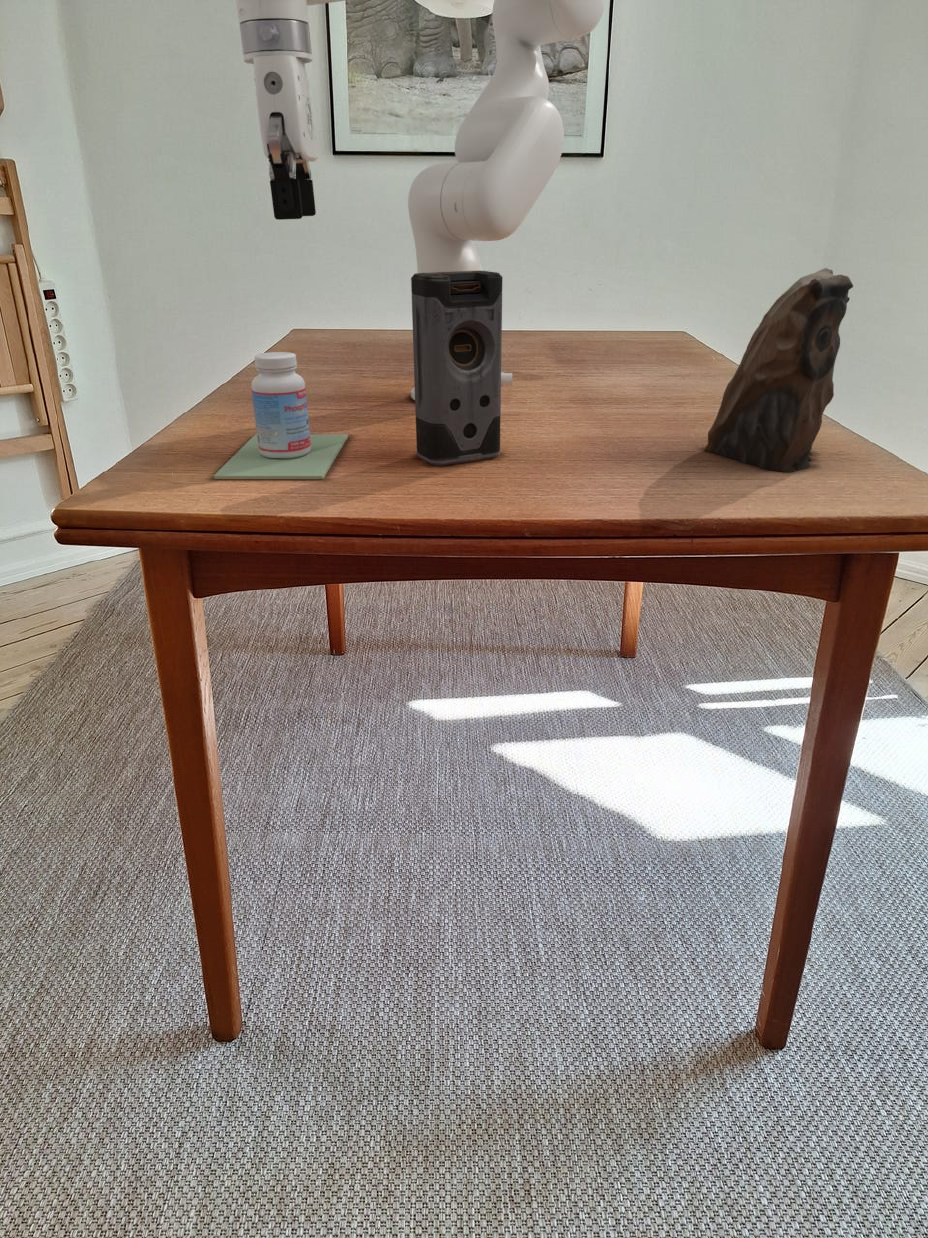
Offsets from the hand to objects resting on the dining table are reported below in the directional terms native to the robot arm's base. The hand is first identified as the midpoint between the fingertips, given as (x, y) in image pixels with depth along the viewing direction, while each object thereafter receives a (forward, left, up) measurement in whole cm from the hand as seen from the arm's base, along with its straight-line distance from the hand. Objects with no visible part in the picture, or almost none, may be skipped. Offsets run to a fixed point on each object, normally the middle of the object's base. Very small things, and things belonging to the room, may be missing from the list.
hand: (296, 217), depth 98 cm
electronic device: (-20, +15, -26) cm, 36 cm away
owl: (-56, +14, -26) cm, 63 cm away
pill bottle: (+1, +15, -25) cm, 29 cm away
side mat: (+1, +15, -25) cm, 29 cm away
